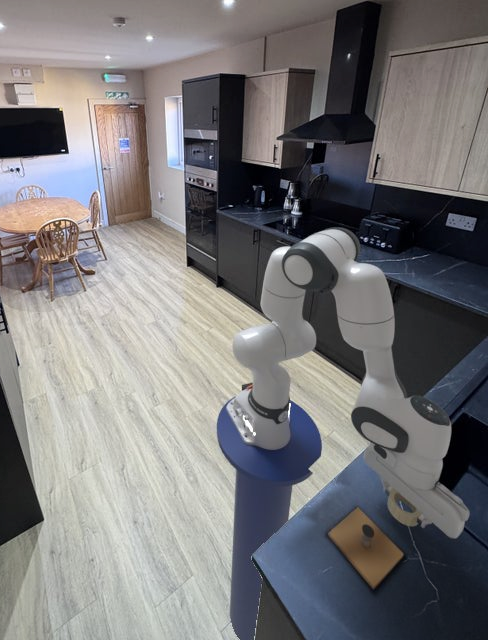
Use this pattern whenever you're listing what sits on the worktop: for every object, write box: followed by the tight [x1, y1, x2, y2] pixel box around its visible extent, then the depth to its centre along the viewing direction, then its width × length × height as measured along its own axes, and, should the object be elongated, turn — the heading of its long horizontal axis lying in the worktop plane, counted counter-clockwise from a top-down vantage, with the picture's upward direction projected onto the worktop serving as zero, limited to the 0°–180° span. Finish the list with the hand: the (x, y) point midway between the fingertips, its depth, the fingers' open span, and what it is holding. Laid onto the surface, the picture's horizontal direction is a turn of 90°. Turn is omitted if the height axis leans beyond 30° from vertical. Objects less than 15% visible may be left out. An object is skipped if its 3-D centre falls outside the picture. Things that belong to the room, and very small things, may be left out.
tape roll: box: [386, 489, 422, 527], centre depth 76 cm, size 6×6×3 cm
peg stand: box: [327, 506, 404, 590], centre depth 72 cm, size 11×11×5 cm
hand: (403, 507), depth 76 cm, fingers closed on tape roll, 6 cm apart
